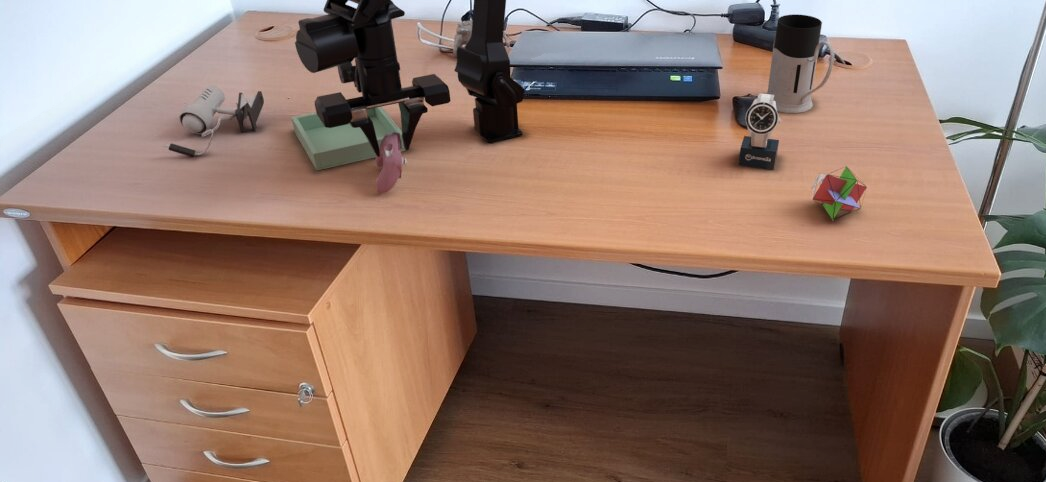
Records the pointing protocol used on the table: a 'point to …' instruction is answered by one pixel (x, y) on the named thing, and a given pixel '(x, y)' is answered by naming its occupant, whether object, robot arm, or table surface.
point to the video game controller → (389, 162)
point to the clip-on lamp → (204, 108)
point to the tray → (341, 139)
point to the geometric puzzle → (838, 192)
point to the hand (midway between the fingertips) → (392, 152)
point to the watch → (760, 134)
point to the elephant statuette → (467, 35)
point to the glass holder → (796, 62)
